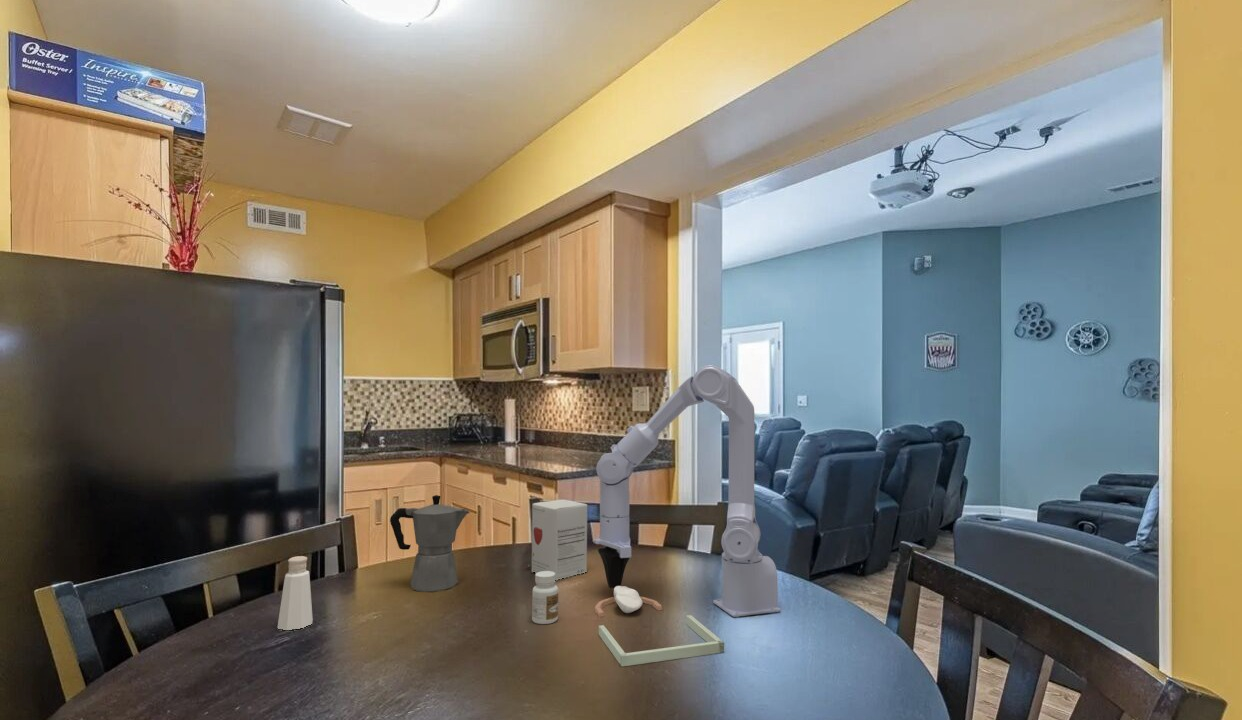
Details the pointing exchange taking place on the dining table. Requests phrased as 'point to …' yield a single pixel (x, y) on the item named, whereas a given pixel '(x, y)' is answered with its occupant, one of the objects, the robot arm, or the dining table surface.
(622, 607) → the dumpling
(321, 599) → the dining table surface
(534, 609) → the pill bottle
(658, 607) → the segmented c-shaped arc
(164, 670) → the dining table surface
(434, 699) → the dining table surface
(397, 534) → the coffeepot
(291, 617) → the pepper shaker
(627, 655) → the pale green u-frame
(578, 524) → the supplement box
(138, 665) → the dining table surface
